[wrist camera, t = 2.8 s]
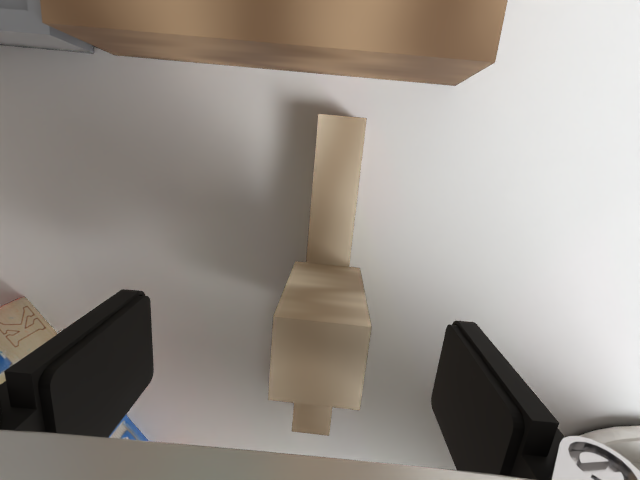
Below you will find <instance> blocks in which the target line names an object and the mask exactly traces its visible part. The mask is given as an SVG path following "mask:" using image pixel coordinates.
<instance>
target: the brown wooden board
mask: <svg viewBox="0 0 640 480" xmlns="http://www.w3.org/2000/svg"><path fill="white" fill-rule="evenodd" d="M40 5H41V15H42V23H44V24H46V25H48V26H51V27H53V28H55V29H57V30H60V31H62V32H64V33H66V34H68V35H71V36H73V37H75V38H77V39H80V40H82V41H84V42H86V43H89V44H91V45H93V46H95V47H97V48H100V49H102V50H104V51H106V52H109V53H111V54H113V55H118V56H129V57H141V58H152V59H163V60H174V61H185V62H196V63H208V64H219V65H230V66H241V67H252V68H263V69H275V70H286V71H297V72H308V73H319V74H330V75H341V76H353V77H364V78H375V79H386V80H397V81H408V82H420V83H431V84H442V85H453V86H456V85H457V84H459V83H461V82H462V81H464V80H466V79H468V78H469V77H471V76H473V75H474V74H476V73H478V72H479V71H481V70H483V69H485V68H486V67H488V66H490V65H491V64H493V63H495V59H496V55H497V50H498V45H499V40H500V35H501V30H502V25H503V20H504V15H505V10H506V5H507V0H40Z"/></svg>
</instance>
